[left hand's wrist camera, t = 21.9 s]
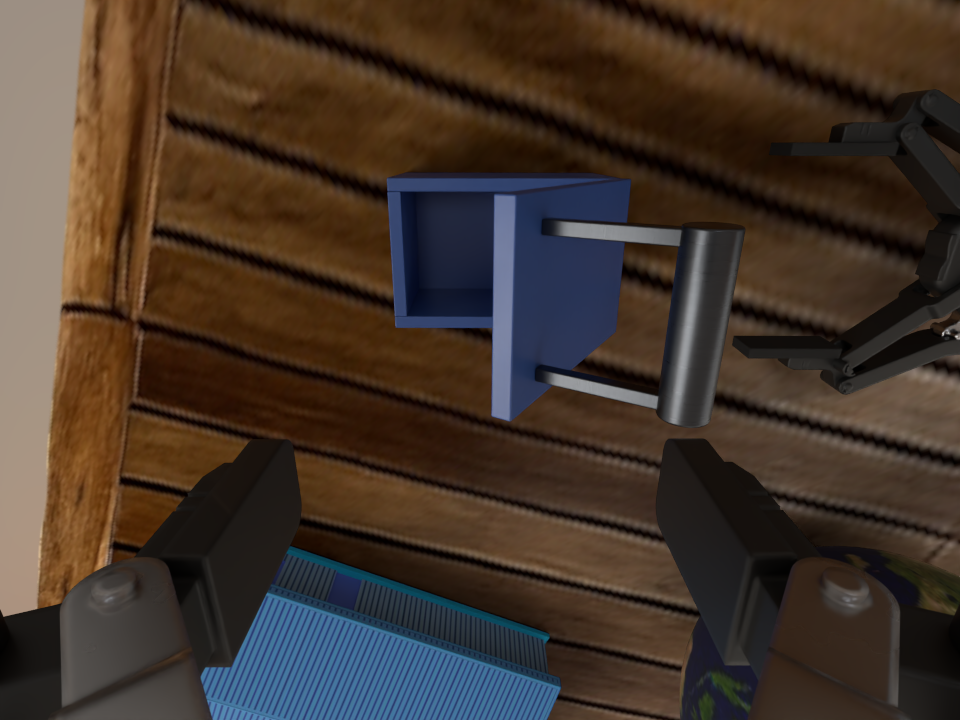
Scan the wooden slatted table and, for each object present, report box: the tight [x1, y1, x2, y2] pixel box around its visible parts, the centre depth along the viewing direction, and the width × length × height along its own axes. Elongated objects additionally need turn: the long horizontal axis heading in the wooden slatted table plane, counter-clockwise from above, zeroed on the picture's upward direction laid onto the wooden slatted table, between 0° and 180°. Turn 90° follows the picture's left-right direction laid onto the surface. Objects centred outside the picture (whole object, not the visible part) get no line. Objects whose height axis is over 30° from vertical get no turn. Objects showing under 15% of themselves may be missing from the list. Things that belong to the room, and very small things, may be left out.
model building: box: [201, 546, 561, 720], centre depth 55 cm, size 39×24×10 cm, turn 66°
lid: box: [492, 179, 745, 428], centre depth 26 cm, size 15×10×9 cm
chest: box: [387, 173, 620, 328], centre depth 39 cm, size 15×10×9 cm
